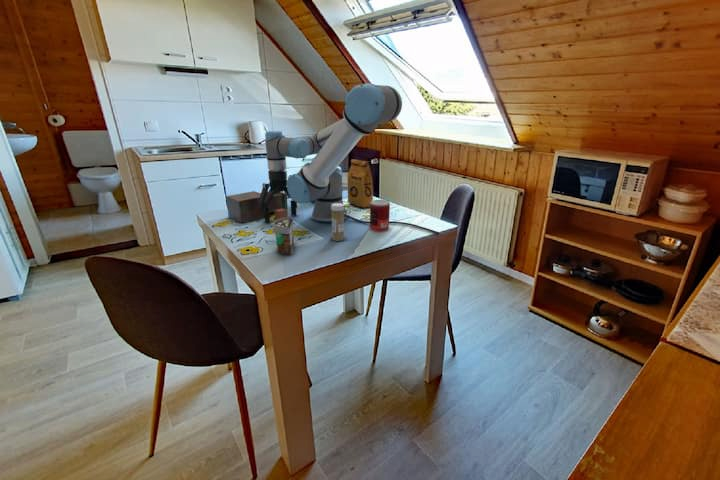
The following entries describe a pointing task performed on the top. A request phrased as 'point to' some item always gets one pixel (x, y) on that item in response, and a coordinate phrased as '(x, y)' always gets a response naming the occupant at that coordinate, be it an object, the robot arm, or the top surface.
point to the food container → (284, 235)
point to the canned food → (379, 215)
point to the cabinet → (244, 207)
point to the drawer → (278, 201)
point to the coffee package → (360, 184)
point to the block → (280, 213)
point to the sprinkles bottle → (337, 221)
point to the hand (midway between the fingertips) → (281, 218)
